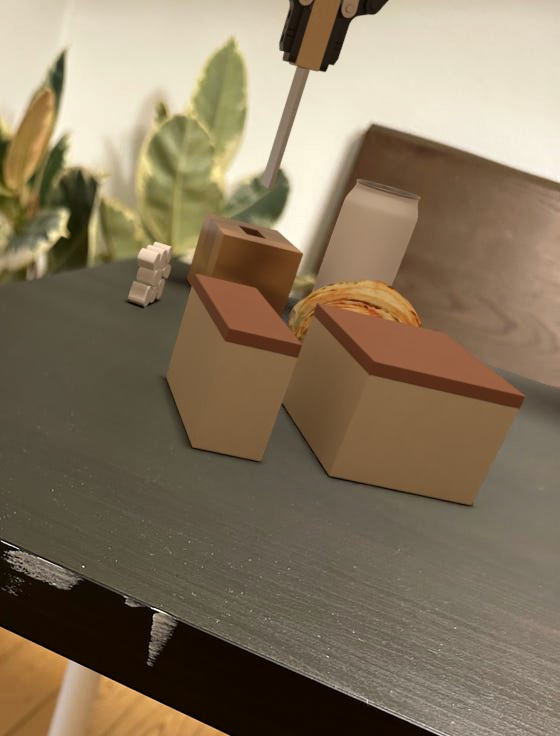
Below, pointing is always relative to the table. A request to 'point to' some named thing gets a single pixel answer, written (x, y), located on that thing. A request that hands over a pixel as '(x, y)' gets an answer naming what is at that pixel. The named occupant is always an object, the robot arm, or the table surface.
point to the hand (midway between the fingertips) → (304, 65)
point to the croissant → (354, 304)
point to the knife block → (247, 258)
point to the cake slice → (230, 367)
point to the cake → (398, 405)
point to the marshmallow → (151, 273)
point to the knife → (302, 78)
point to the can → (369, 235)
